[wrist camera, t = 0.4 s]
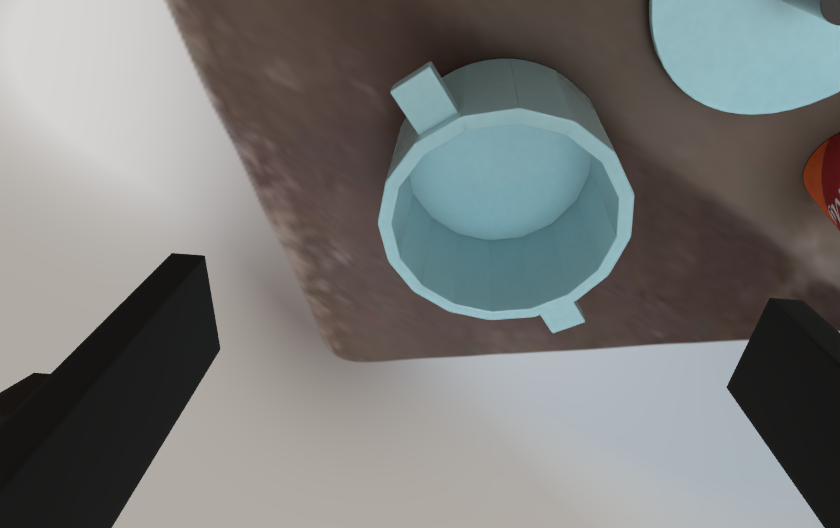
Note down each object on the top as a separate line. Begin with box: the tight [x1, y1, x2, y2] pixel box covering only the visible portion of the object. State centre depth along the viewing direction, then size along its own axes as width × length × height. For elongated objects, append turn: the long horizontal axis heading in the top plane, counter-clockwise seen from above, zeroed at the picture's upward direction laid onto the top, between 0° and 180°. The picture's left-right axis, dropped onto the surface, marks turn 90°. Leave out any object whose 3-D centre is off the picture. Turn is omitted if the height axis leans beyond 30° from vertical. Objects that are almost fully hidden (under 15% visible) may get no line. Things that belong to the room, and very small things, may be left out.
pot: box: [378, 59, 635, 333], centre depth 32 cm, size 14×20×8 cm
